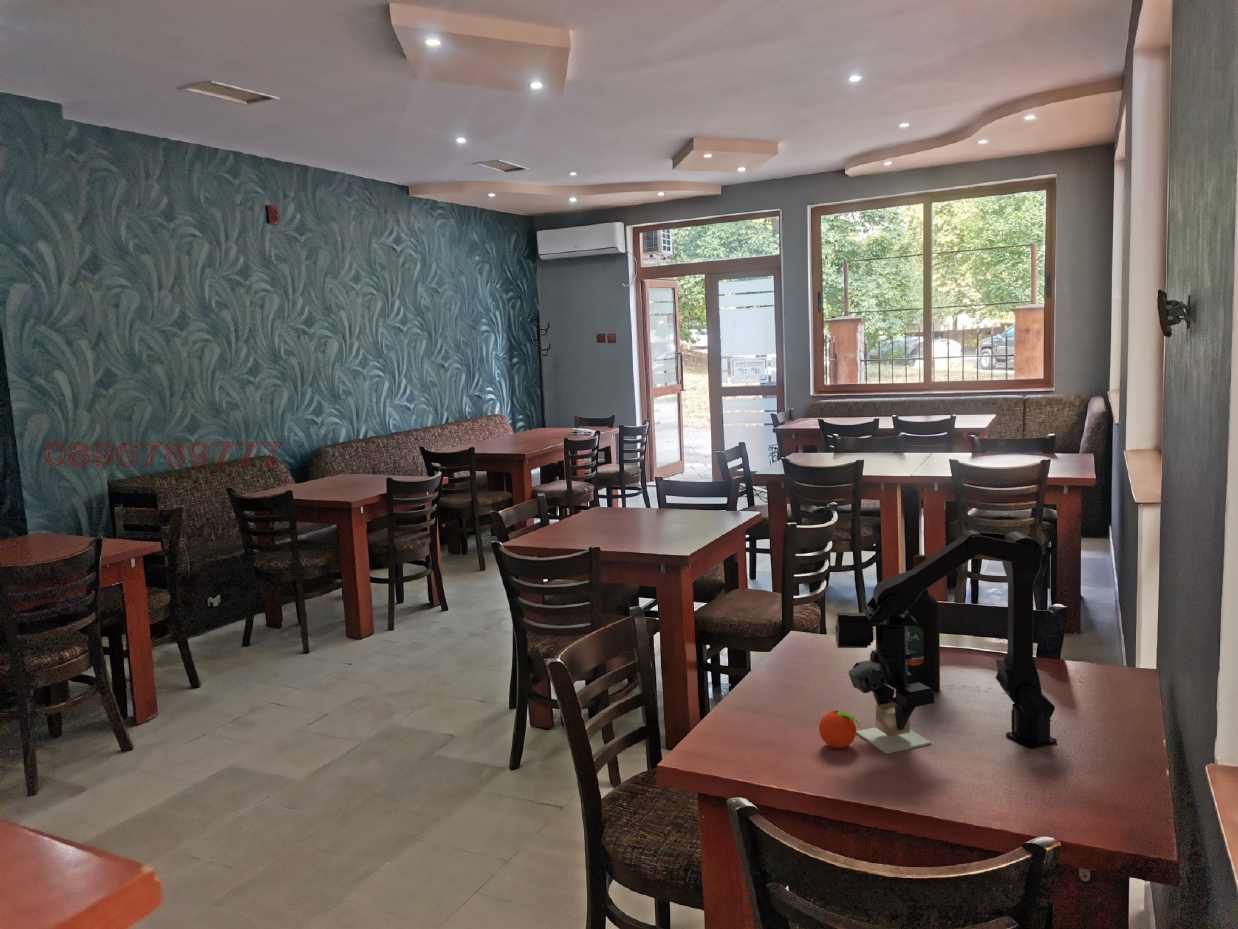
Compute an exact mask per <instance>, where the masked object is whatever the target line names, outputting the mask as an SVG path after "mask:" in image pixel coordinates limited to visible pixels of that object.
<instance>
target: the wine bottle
mask: <svg viewBox="0 0 1238 929" xmlns="http://www.w3.org/2000/svg"><path fill="white" fill-rule="evenodd" d="M927 559H928V555H926V554H915V555H913V568H915V567H916V566H918V565H919V564H921V563H922V562H924V561H925V560H927ZM928 588H929V587H928ZM928 588H927V589H926V590H925V591H924V592H923V593H922V594H921V595H920V596H919V598H918V599H917V601H916V602H915V603H914V604H913V605H912V606H911V607H910V608H909V609H908V610H907V611H908V612H909V614H910V615H911V616H912V617H914V619H915V620H916V622H917V623H918V625H917V626H907V652H909V653H912V659H908V660H907V672H908V673H910V674H912V680H907V681H906V683H907V684H913V683H918V682H920V683H922V684H924V685H925V686H927V687H929V688H931V689H932V690H933V691H934V692H935V695H936V694H939V692H940V691H941V660H940V659H941V658H940V657H941V656H940V655H941V654H940V651H941V650H940V649H941V648H940V646H941V645H940V638H941V637H940V603H939V602H938V600H937V599H936V597H934V596H933V595H932V594H931V593H930V592H929V589H928Z"/></svg>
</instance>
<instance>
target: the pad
mask: <svg viewBox="0 0 1238 929" xmlns="http://www.w3.org/2000/svg"><path fill="white" fill-rule="evenodd" d="M856 735H857V736H859V737H861V738H862V739H863V740H865V739H866V740H865V741H867V743H870V744H871V745H872V746H873V747H875V748H877V749H878V750H879V751H881V752H883V753H884V754H891V753H896V752H901V751H906V750H909V749H915V748H919V747H924V746H928V745H929V746H930V745H932V741H930V740H929V739H927V738H925V737H924V736H922V735H920V734H918V732H915V731H914V730H912V729H910V732H909V733H905V734H900V735H895V736H888V735H886V734H885V733H883V732H882V731H880V730H879V729H877V728H876V726H875V727H870V728H866V729H860V730H856Z"/></svg>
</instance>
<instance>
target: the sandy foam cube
mask: <svg viewBox="0 0 1238 929" xmlns="http://www.w3.org/2000/svg"><path fill="white" fill-rule="evenodd" d="M910 717H911V716H910ZM910 717H909V719H908V721H907V723H906V725H905V727H904V729H903V730H898V729H897V724H896V715H895V706H894V704H893V703H887V704H882V705H877V704H876V705H875V727H876V728H877V729H879V730H880V731H882V732H883V733H885V734H886V735H888V736H895V735H900V734H905V733H909V732H910V730H911V728H910V727H911V726H910V725H911V724H910V721H911V720H910Z"/></svg>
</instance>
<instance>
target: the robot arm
mask: <svg viewBox="0 0 1238 929" xmlns="http://www.w3.org/2000/svg"><path fill="white" fill-rule="evenodd" d="M976 556H983V557H984V556H985V557H989V558H993V559H995V560H996V559H997V560H1001V562H1002V566H1003V570H1004V572H1005V576H1006V579H1007V651H1006V655H1005V657H1004V659H998V658H997V659H996V661H995V662H996V668H997V672H996V676H995V679H996V681H997V682H998V683H999V686H1000V688H1001V689H1002V690H1003V691H1004V693H1005V694H1006V695H1007V697H1009V699H1010V701H1011V702H1013V703H1012V704H1011V705H1012V708H1011V731H1008V732H1006V733H1005V736H1006V737H1008V738H1010V739H1012V740H1013V741H1014V742H1017V743H1019V744H1021V745H1023V746H1025V747H1026V748H1028V749H1034V748H1037V747H1043V746H1046V745H1052V744H1055V743H1057V742H1058V741H1057V740H1058V739H1056V738H1055V737H1053V736H1051V717H1052V716H1053V714H1054V712H1055V710H1056V707H1055V705H1054V704H1053V703H1052V702H1051V701H1050V699H1048V697H1047V696H1046V695H1045V694H1044V693H1043V692H1042V687H1041V686H1042V685H1041V680H1040V675H1039V672H1038V670H1037V669H1038V668H1037V667H1036V666H1037V664H1036V662H1035V660H1034V584H1035V582H1036V580H1037V577H1038V575H1039V573H1040V572H1041V566H1042V560H1043V556H1044V552H1043V548H1042V546H1041V544H1040V543H1039V542H1038V541H1037V540H1036V539H1034V538H1032V537H1031V536H1029V535H1027V534H1025V533H1023V532H1022V531H1011V532H1009V533H1007V534H1004V533H999V532H987V531H986V532H983V531H977V530H973V529H970V530H967V531H965V532H963V533H962V534H961V536H959V537H958V538H956V539H955V540H953V541H952V542H950V543H949V544H948V545H945V547H943V548H941V549H940V550H939V551H937V552H935V553H933V555H931V556H930V557H927V560H925V561H924V562H922V563H921V564H919V565H918V566H916V567H915V568H914V567H913V568H912V569H910V570H907V571H904V572H901V573H898V574H894V575H893V576H890V577H888V578H886V579H883V580H881V581H879V582H878V583H877V584H876V585H875V586H874V588H873V593H872V597H871V598H870V599H869V601H868V602H867V603H866V605H865V606H864V608H863V609H862V612H845V611H837V613H836V621H835V622H836V623H835V625H834V630H835V633H834V634H835V643H836V647H837V649H868V647H869V646H871V645H872V643H874V638H875V649H874V650H871V651H870V654H869V656H870V658H869V660H864V661H858V662H856V663H855V664H854V665H853V667H852V668H851V669H849V671H848V672H847V673H848V676H849V678H850V681H851V683H852V687H853V688H854V689H857V690H858V691H860V692H861V693H863V694H868V693H870V692H871V693H872V695H873V696H874V701H875V702H876V705H882V704H887V703H893V704H894V706H895V715H896V724H897V729H898V730H903V729H904V727H905V725H906V723H907V721H908V719H909V717H911V716H912V714H913V712H914V710H915V708H917V707H923V706H927V705H932V704H935V703H936V694H935V692H934V691H933V690H932V689H931V688H929V687H927V686H925V685H924V684H922V683H920V682H918V683H913V684H907V683H906V681H907V680H912V674H910V673H908V672H907V660H908V659H912V653H909V652H907V626H917V625H918V623H917V622H916V620H915V619H914V617H912V616H911V615H910V614H909V612H908V611H907V610H908V609H909V608H910V607H911V606H912V605H913V604H914V603H915V602H916V601H917V599H918V598H919V596H920V595H921V594H922V593H923V592H924V591H925V590H926V589H927V588H930V587H932V586H933V585H934V584H935V583H938V582H939V581H941V580H942V579H944V577H947V575H949V574H951V573H952V572H953V571H955V570H957V569H959V568H960V567H961V566H963V565H964V564H966V563H968V562H969V561H971V560H972V559H974V558H975V557H976ZM874 627H875V635H874ZM874 636H875V637H874Z"/></svg>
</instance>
